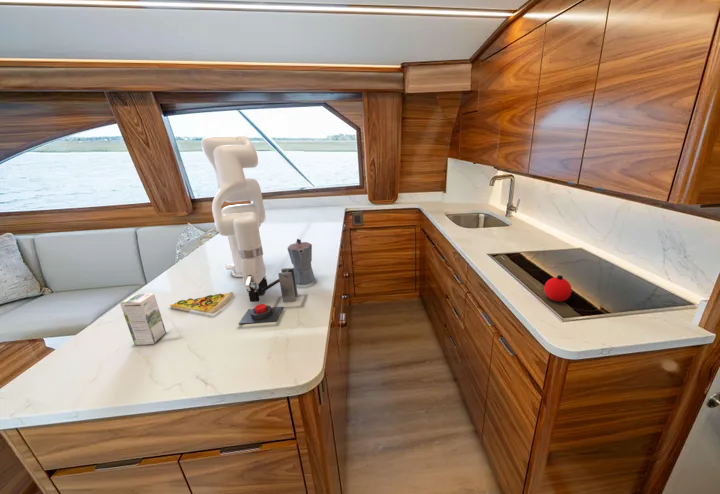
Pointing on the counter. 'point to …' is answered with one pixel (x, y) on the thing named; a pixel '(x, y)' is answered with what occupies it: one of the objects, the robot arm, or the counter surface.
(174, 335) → the counter surface
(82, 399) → the counter surface
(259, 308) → the button
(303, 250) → the moka pot
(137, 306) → the syrup box
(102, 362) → the counter surface
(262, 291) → the lever
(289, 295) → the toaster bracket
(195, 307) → the pizza slice
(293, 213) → the counter surface
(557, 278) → the ornament
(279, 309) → the control block
